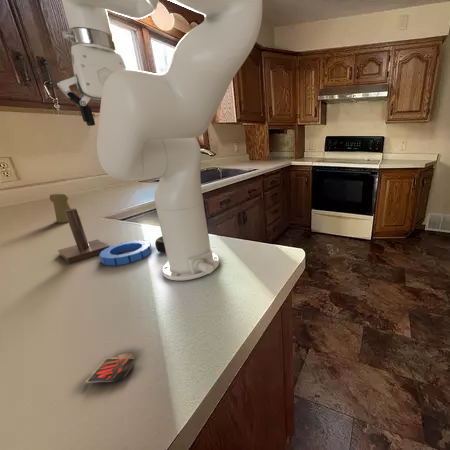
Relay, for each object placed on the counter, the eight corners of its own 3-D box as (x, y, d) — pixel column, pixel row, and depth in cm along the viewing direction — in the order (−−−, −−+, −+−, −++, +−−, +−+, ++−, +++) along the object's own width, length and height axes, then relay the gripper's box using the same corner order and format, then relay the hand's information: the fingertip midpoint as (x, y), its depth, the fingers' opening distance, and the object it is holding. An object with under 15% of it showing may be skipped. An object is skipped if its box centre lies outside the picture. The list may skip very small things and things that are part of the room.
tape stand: (110, 250, 69) (97, 208, 65) (69, 263, 62) (51, 216, 58) (99, 243, 74) (86, 203, 70) (59, 254, 67) (42, 211, 63)
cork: (53, 221, 96) (43, 194, 92) (71, 217, 101) (62, 191, 98) (62, 223, 94) (51, 195, 90) (80, 218, 99) (71, 191, 95)
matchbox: (128, 379, 31) (127, 376, 31) (80, 391, 30) (79, 388, 30) (139, 351, 36) (138, 348, 35) (97, 360, 34) (96, 357, 34)
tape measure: (182, 253, 67) (180, 240, 65) (154, 257, 65) (151, 244, 63) (185, 243, 73) (183, 232, 71) (159, 247, 71) (157, 235, 69)
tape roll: (159, 252, 67) (157, 245, 67) (111, 269, 59) (109, 262, 58) (140, 243, 73) (139, 237, 73) (95, 258, 65) (93, 251, 64)
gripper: (46, 27, 47) (75, 124, 52) (143, 51, 60) (157, 126, 66) (37, 36, 51) (65, 125, 56) (130, 57, 64) (145, 127, 70)
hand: (115, 126), depth 61 cm, fingers open, 9 cm apart
